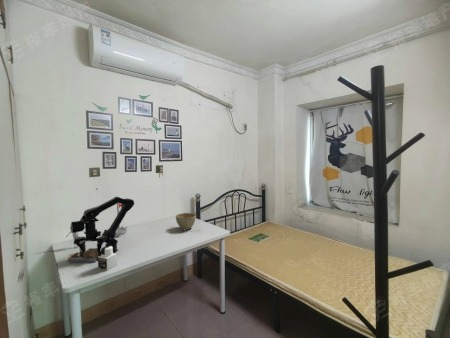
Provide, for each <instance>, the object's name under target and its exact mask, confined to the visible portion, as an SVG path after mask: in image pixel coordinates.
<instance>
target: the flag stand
mask: <svg viewBox="0 0 450 338" xmlns="http://www.w3.org/2000/svg"><path fill="white" fill-rule="evenodd" d="M121 205H122V204H121V203H117V204H116V212H117V213H116V214H117V215H118V213H119V212H120V209H121ZM117 215H116V216H117ZM120 225H121V224H120ZM120 225H119V227H118V228H117V230H116V234H115V236H121V235H124V234H126V235H127V232H128V227H127V226H125V227H124V226H122V225H121V226H120ZM124 236H125V235H124ZM121 237H122V236H121Z"/></svg>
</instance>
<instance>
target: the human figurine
mask: <svg viewBox="0 0 450 338" xmlns="http://www.w3.org/2000/svg"><path fill="white" fill-rule="evenodd" d="M81 232H83V233H84V232H85V230H83V231H81ZM70 234H72V237H73V241H74V240H75V239H76V238H78V237H80V235H79V232H76V233H71V231H69V232H68V234H67V235H66V236H65V238H67V237H69V235H70ZM73 244H74V243H73ZM77 248H79V247H78V245H76V244H74V249H77Z"/></svg>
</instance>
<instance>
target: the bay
mask: <svg viewBox="0 0 450 338" xmlns="http://www.w3.org/2000/svg"><path fill="white" fill-rule="evenodd" d="M86 247H87V246H86V244H85V251H86V250H87V248H86ZM99 256H101V250H100V252H99ZM99 256H98V257H99ZM98 257H97V258H96V257H90V258H84V253H83V252H82V250H81V249H80V248H79V252H78V251H77V252H75V253H73V254H71V255H70V256H69V257H68V259H67V261H68V263H69V264H83V263H84V264H86V263H96V262H98Z"/></svg>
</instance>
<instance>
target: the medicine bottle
mask: <svg viewBox="0 0 450 338" xmlns="http://www.w3.org/2000/svg"><path fill="white" fill-rule="evenodd" d="M100 251H101V256H99V257H98V261H97V269H99V270H103V271H108V270H111V269H112V268H114V267H116V266H118V263H117V262H118V260H117V258H118V257H117V253H113V247H112V246H105V245H104V246H103V247H101V250H100Z"/></svg>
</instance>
